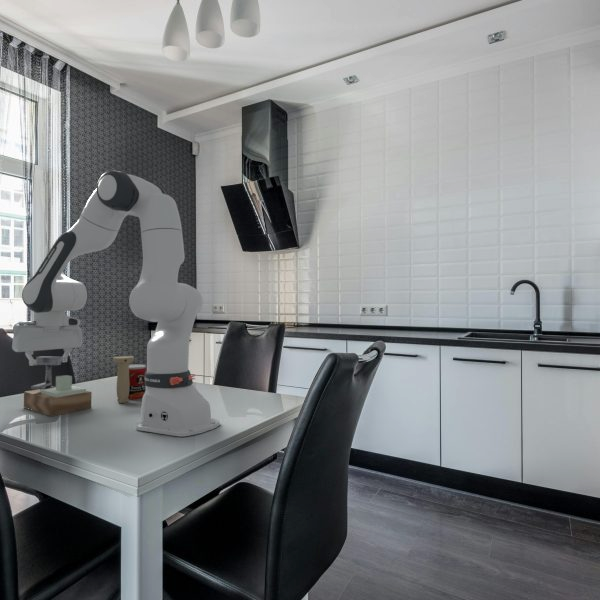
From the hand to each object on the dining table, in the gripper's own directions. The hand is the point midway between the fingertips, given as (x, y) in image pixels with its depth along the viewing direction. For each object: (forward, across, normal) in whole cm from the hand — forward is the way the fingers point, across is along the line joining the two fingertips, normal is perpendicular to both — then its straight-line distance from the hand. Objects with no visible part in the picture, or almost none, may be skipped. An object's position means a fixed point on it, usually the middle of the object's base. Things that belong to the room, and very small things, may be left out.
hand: (48, 363), depth 134 cm
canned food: (+14, +23, -12) cm, 29 cm away
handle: (+14, +16, -16) cm, 26 cm away
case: (+13, 0, -6) cm, 15 cm away
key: (+8, -2, -1) cm, 8 cm away
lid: (+8, 0, -10) cm, 13 cm away
